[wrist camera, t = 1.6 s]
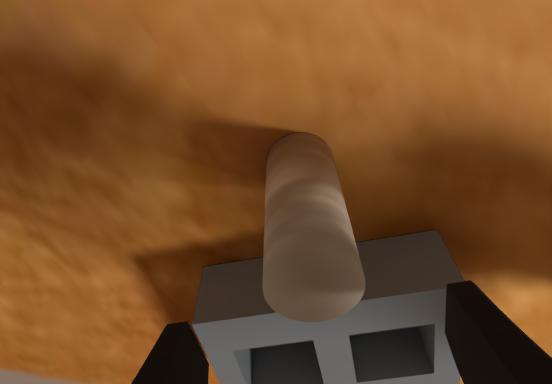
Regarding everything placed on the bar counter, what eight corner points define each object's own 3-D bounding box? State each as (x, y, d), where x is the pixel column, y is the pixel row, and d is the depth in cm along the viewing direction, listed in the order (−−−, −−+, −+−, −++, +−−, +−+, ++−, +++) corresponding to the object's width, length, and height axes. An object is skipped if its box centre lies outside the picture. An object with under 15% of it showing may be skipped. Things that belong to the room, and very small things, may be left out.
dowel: (328, 126, 18) (360, 241, 11) (336, 185, 20) (369, 314, 13) (259, 139, 18) (251, 258, 12) (273, 195, 20) (274, 328, 13)
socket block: (437, 229, 21) (467, 285, 18) (435, 335, 26) (458, 394, 23) (203, 266, 23) (191, 324, 19) (242, 360, 28) (238, 419, 24)
